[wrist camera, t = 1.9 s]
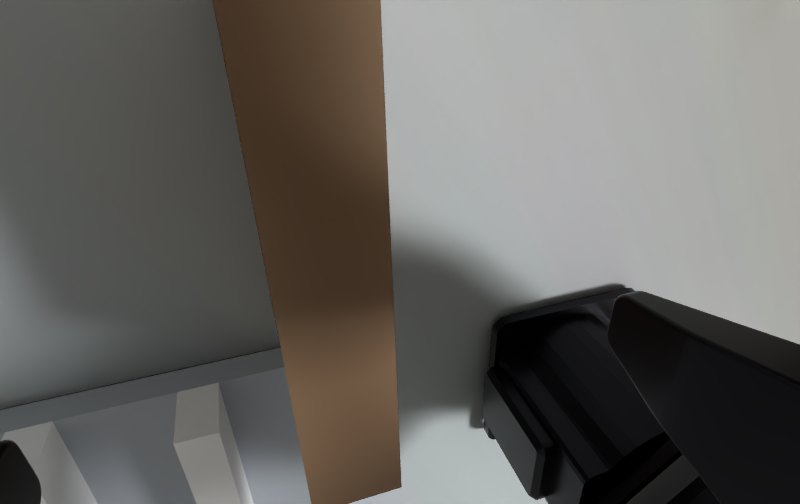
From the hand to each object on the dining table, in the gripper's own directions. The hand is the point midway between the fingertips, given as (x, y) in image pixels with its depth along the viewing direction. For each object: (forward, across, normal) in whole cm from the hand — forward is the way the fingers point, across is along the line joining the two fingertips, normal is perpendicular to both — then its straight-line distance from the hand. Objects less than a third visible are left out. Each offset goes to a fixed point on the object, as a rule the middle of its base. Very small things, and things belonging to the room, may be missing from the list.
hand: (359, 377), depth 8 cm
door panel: (+8, 0, 0) cm, 8 cm away
